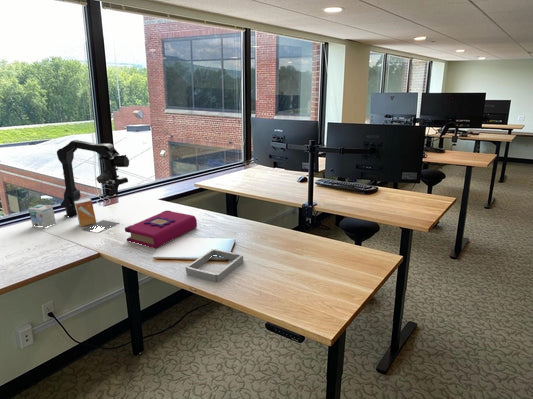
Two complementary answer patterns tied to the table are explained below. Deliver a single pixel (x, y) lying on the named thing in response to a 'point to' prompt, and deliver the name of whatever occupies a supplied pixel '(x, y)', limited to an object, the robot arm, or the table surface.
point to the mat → (100, 223)
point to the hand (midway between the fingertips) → (114, 194)
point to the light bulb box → (42, 215)
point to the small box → (85, 212)
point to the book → (161, 228)
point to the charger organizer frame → (238, 260)
